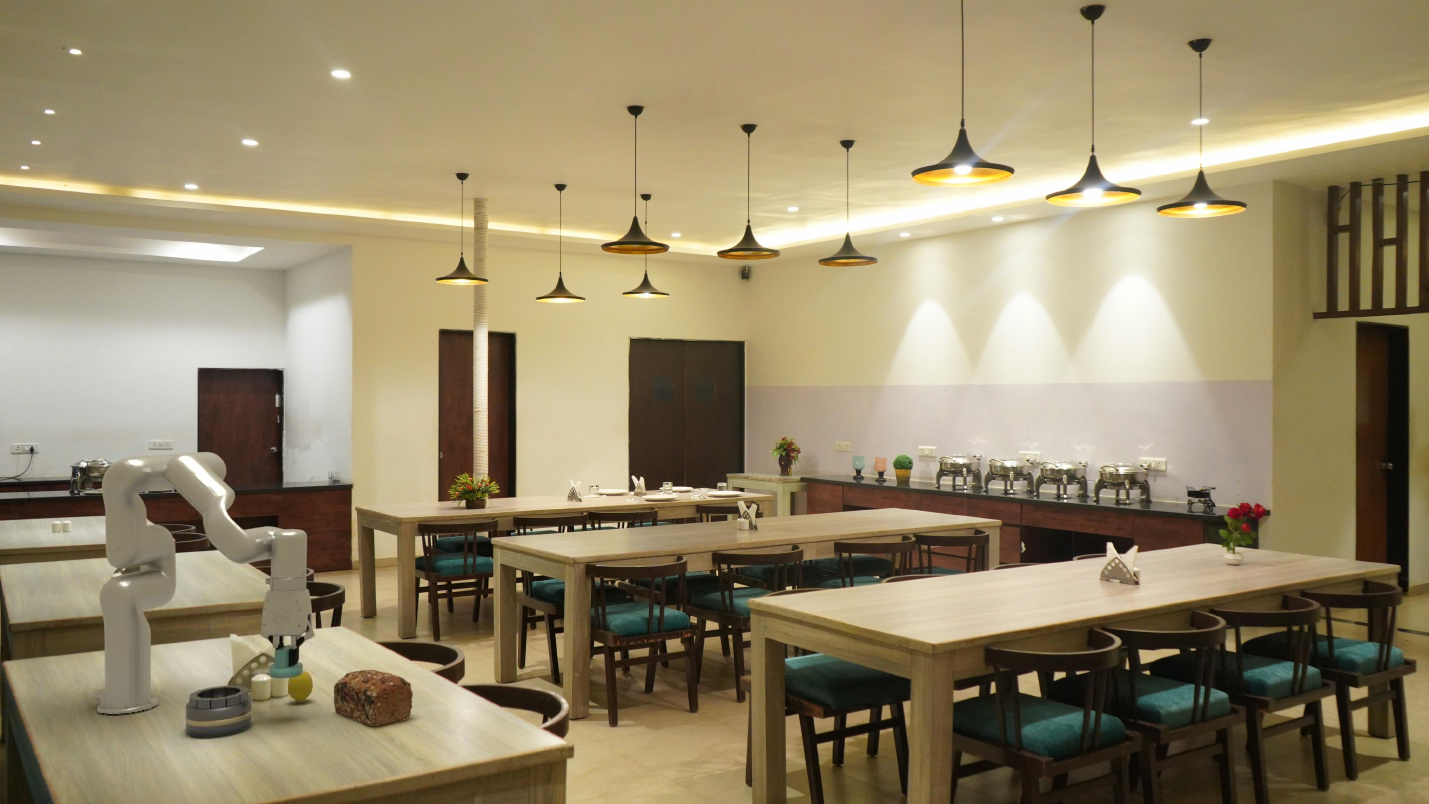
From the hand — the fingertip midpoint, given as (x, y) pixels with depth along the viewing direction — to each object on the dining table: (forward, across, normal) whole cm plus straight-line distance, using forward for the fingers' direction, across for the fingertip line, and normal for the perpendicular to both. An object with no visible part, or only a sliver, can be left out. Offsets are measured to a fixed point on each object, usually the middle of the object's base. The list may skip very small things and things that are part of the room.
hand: (286, 664), depth 234 cm
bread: (+12, +19, +4) cm, 23 cm away
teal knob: (+2, 0, 0) cm, 2 cm away
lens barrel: (+13, -11, -8) cm, 19 cm away
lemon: (+13, -3, +13) cm, 18 cm away
